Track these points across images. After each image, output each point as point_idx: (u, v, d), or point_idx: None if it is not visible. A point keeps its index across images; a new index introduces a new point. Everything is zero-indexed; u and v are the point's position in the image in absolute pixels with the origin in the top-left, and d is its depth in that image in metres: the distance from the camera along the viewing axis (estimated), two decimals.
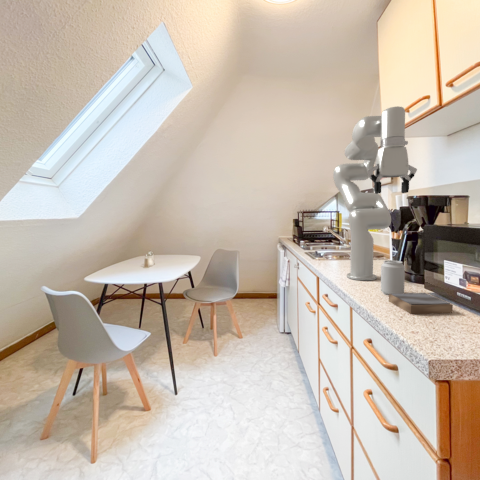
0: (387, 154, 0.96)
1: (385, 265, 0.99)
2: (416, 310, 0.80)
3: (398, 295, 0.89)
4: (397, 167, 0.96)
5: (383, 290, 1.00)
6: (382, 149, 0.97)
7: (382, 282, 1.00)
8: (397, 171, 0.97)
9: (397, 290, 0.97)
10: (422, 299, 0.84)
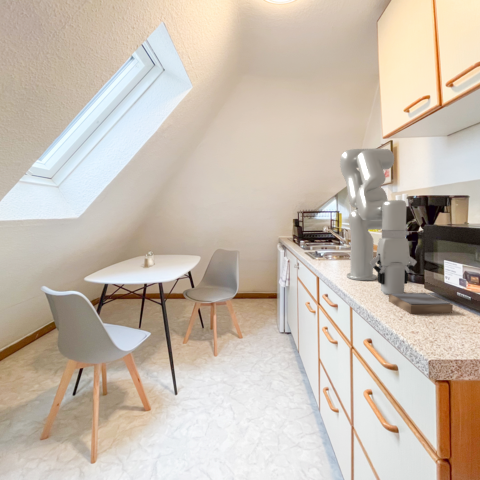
0: (388, 246, 0.97)
1: None
2: (416, 310, 0.80)
3: (398, 295, 0.89)
4: (398, 259, 0.97)
5: (383, 290, 1.00)
6: (383, 240, 0.98)
7: None
8: (398, 262, 0.97)
9: (397, 290, 0.97)
10: (422, 299, 0.84)
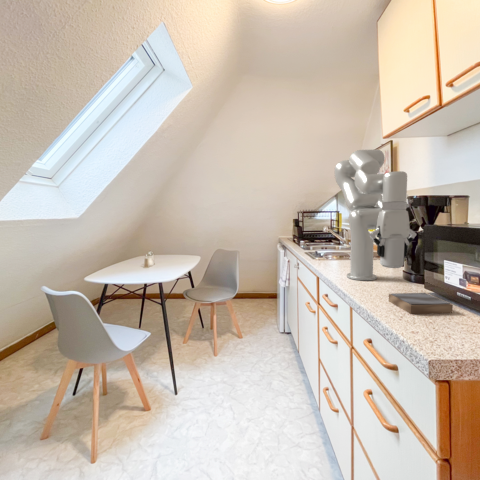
0: (388, 218, 0.96)
1: None
2: (416, 310, 0.80)
3: (398, 295, 0.89)
4: (398, 231, 0.97)
5: (382, 263, 1.00)
6: (383, 212, 0.97)
7: None
8: None
9: (396, 262, 0.97)
10: (422, 299, 0.84)
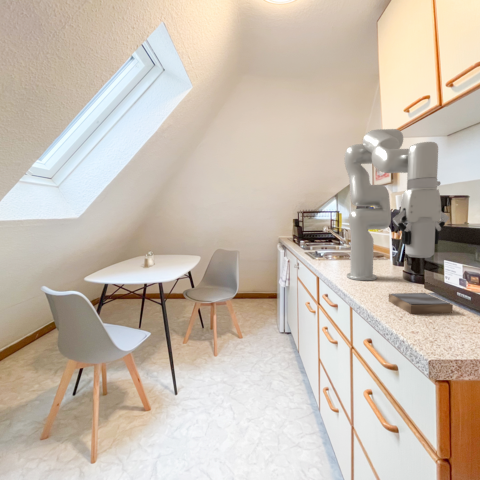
0: (416, 198, 0.81)
1: None
2: (416, 310, 0.80)
3: (398, 295, 0.89)
4: (428, 213, 0.81)
5: (409, 252, 0.84)
6: (410, 192, 0.81)
7: None
8: None
9: (426, 250, 0.81)
10: (422, 299, 0.84)
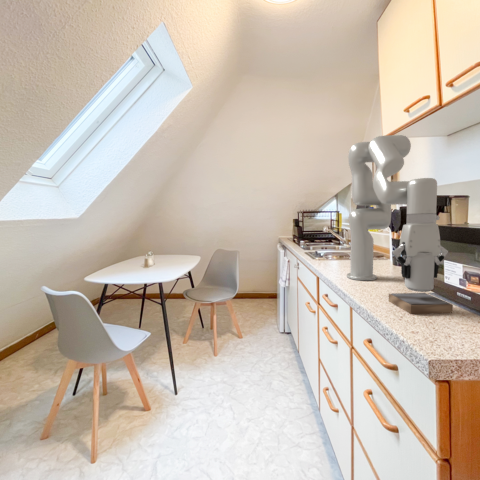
0: (415, 233, 0.81)
1: None
2: (416, 310, 0.80)
3: (398, 295, 0.89)
4: (427, 248, 0.82)
5: (408, 285, 0.84)
6: (409, 226, 0.82)
7: None
8: (427, 252, 0.82)
9: (425, 285, 0.81)
10: (422, 299, 0.84)
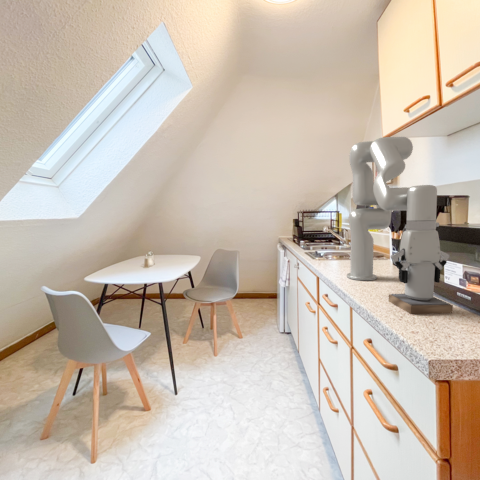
0: (415, 240, 0.82)
1: (411, 264, 0.84)
2: (416, 310, 0.80)
3: (398, 295, 0.89)
4: (427, 255, 0.82)
5: (408, 293, 0.85)
6: (409, 233, 0.82)
7: (407, 284, 0.85)
8: (427, 259, 0.82)
9: (425, 294, 0.82)
10: None
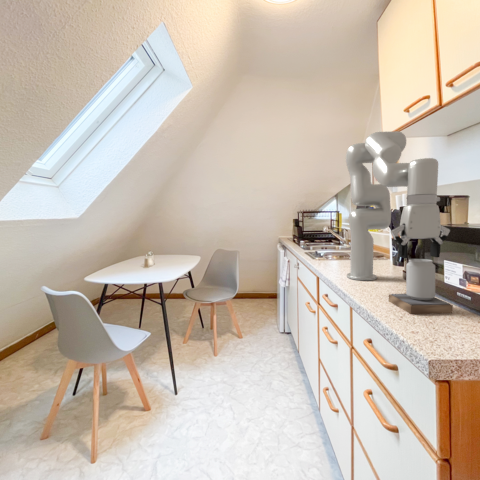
0: (416, 214, 0.81)
1: (411, 264, 0.84)
2: (416, 310, 0.80)
3: (398, 295, 0.89)
4: (427, 229, 0.82)
5: (410, 294, 0.85)
6: (410, 207, 0.82)
7: (408, 284, 0.85)
8: (427, 234, 0.82)
9: (426, 293, 0.82)
10: None
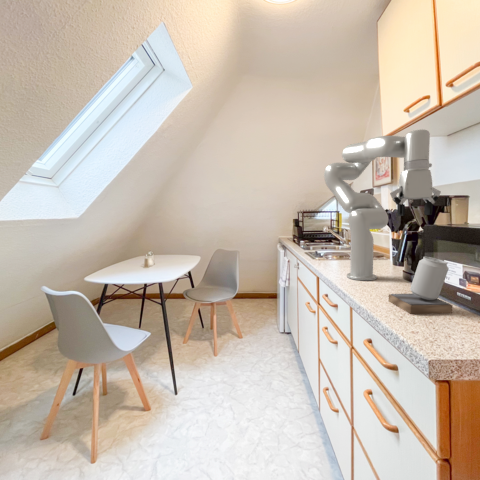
0: (411, 177, 0.96)
1: (421, 260, 0.84)
2: (416, 310, 0.80)
3: (398, 295, 0.89)
4: (421, 190, 0.96)
5: (410, 287, 0.87)
6: (406, 172, 0.96)
7: None
8: (421, 194, 0.96)
9: (421, 291, 0.82)
10: (422, 299, 0.84)
